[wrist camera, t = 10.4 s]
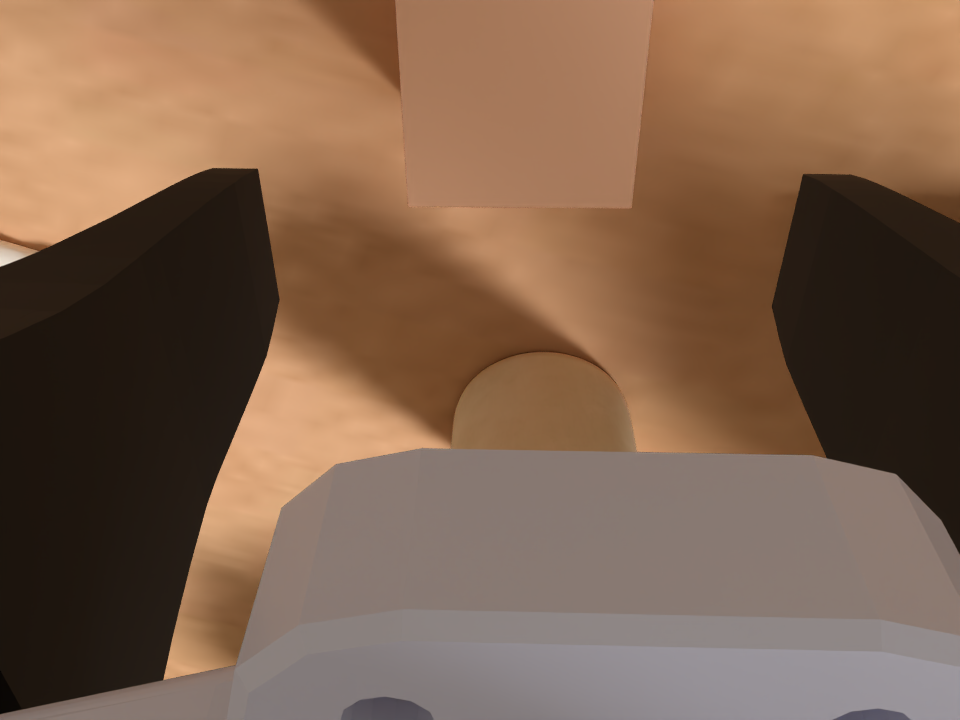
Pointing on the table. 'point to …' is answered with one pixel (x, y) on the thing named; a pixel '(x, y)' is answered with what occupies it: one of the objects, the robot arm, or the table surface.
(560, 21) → the terracotta block
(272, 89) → the table surface
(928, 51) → the table surface
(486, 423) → the candle
